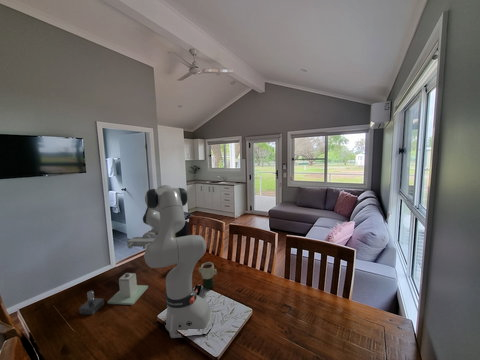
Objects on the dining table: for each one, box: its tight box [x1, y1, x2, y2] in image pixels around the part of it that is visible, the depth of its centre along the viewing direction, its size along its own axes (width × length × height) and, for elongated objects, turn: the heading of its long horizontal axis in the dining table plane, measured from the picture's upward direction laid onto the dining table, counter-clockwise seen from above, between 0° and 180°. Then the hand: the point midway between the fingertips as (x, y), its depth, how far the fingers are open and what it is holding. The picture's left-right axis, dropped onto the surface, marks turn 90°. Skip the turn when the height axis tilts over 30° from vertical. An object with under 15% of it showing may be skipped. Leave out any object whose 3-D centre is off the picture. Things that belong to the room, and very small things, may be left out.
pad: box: [107, 284, 149, 306], centre depth 109 cm, size 14×14×1 cm
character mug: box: [198, 261, 218, 290], centre depth 114 cm, size 11×7×13 cm, turn 76°
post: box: [78, 290, 105, 316], centre depth 100 cm, size 7×7×9 cm
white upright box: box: [118, 272, 138, 297], centre depth 109 cm, size 6×6×11 cm
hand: (136, 247), depth 119 cm, fingers open, 8 cm apart
